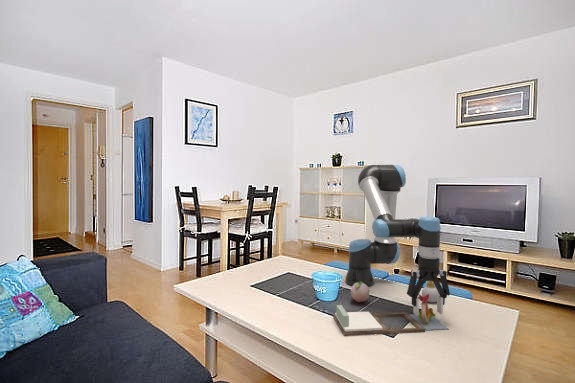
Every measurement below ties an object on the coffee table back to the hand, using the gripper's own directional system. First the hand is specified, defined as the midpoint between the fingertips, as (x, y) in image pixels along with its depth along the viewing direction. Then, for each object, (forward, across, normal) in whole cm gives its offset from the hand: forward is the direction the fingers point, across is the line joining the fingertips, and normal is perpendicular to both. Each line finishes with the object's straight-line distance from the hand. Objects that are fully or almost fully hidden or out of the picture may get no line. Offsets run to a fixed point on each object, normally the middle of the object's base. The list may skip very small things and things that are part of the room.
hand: (427, 313), depth 120 cm
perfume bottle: (+4, +12, +20) cm, 24 cm away
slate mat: (+4, 0, 0) cm, 4 cm away
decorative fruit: (+4, -20, +22) cm, 30 cm away
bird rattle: (+3, -1, 0) cm, 3 cm away
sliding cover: (+2, -29, 0) cm, 29 cm away
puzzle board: (+4, -21, 0) cm, 21 cm away
